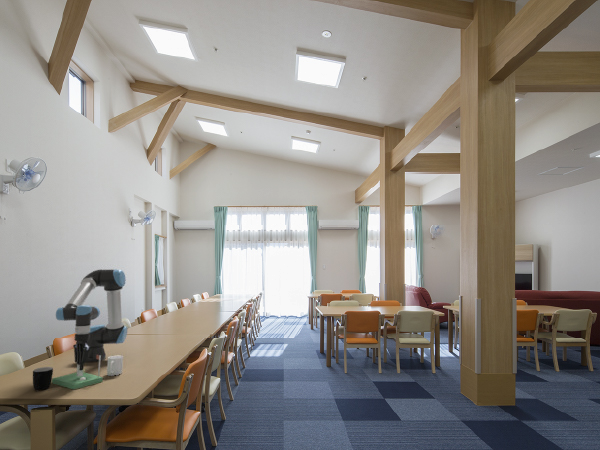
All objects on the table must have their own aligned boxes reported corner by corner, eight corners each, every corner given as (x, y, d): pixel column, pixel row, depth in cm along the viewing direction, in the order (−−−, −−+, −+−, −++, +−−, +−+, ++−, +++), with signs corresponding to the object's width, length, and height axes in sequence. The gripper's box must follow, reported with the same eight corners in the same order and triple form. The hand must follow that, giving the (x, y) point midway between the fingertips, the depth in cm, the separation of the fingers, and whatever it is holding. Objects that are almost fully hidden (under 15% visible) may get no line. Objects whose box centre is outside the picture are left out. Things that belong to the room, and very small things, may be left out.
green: (51, 383, 210) (53, 356, 212) (80, 375, 224) (82, 350, 226) (73, 389, 199) (75, 361, 201) (102, 381, 213) (103, 355, 215)
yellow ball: (76, 374, 219) (77, 368, 219) (82, 372, 222) (83, 366, 222) (80, 374, 217) (80, 368, 218) (85, 373, 220) (86, 367, 221)
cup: (123, 371, 233) (124, 355, 234) (117, 377, 221) (118, 359, 222) (109, 372, 232) (110, 355, 233) (102, 378, 220) (103, 360, 221)
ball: (77, 380, 209) (81, 375, 211) (82, 383, 211) (86, 377, 212) (78, 383, 207) (82, 377, 208) (83, 385, 209) (88, 379, 210)
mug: (35, 386, 204) (36, 367, 205) (54, 385, 206) (55, 366, 207) (26, 394, 192) (27, 373, 193) (46, 392, 195) (47, 372, 196)
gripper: (69, 333, 214) (66, 375, 211) (82, 335, 207) (79, 379, 205) (82, 331, 220) (79, 372, 218) (95, 333, 214) (92, 375, 211)
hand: (79, 375), depth 211 cm, fingers closed
